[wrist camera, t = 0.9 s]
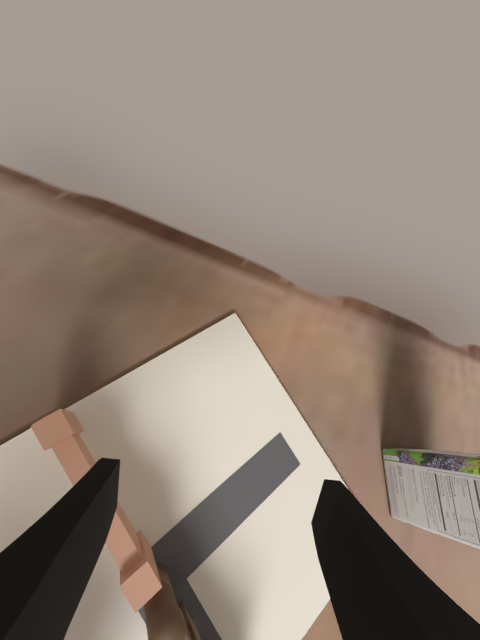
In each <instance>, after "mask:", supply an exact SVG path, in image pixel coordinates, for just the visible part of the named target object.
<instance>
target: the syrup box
mask: <svg viewBox="0 0 480 640" xmlns="http://www.w3.org/2000/svg"><path fill="white" fill-rule="evenodd" d="M382 453H383V461H384V468H385V476H386V483H387V490H388V497H389V504H390V510H391V517H392V518H394V519H397V520H400V521H403V522H405V523H408V524H411V525H414V526H417V527H419V528H422V529H425V530H428V531H430V532H433V533H436V534H439V535H442V536H444V537H447V538H450V539H453V540H456V541H459V542H461V543H464V544H467V545H470V546H473V547H476V548H478V549H480V454H473V453H462V452H452V451H439V450H428V449H383V451H382Z"/></svg>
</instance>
